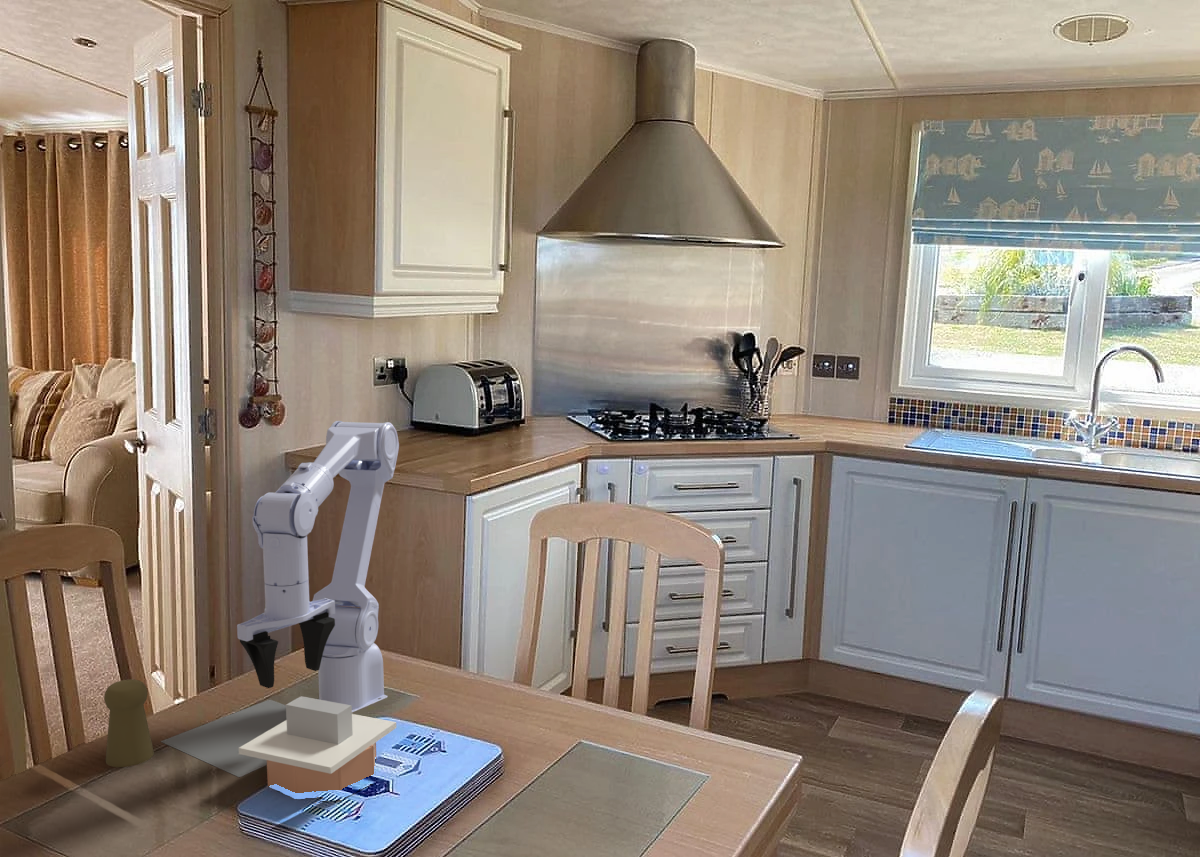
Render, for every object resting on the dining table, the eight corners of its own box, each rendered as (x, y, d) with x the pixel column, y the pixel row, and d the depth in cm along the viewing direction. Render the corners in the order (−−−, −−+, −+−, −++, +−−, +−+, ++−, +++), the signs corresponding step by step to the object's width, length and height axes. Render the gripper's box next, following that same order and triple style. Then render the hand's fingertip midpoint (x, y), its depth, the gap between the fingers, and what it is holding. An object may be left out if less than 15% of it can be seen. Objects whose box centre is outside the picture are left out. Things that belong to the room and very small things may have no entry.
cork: (135, 773, 131) (130, 693, 129) (94, 769, 132) (89, 689, 130) (164, 753, 136) (159, 676, 135) (125, 749, 138) (120, 672, 136)
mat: (269, 703, 153) (269, 699, 153) (348, 732, 143) (348, 728, 143) (160, 745, 139) (160, 741, 139) (239, 781, 128) (239, 777, 128)
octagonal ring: (330, 746, 139) (329, 711, 138) (396, 771, 131) (395, 735, 130) (249, 783, 128) (247, 746, 127) (316, 813, 120) (314, 774, 120)
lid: (310, 711, 138) (309, 678, 137) (396, 727, 133) (395, 693, 132) (239, 753, 125) (237, 717, 125) (331, 773, 120) (329, 735, 119)
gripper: (310, 564, 143) (314, 656, 144) (221, 588, 131) (225, 687, 133) (343, 572, 139) (346, 666, 140) (254, 597, 127) (258, 699, 129)
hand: (290, 677), depth 136 cm, fingers open, 7 cm apart
